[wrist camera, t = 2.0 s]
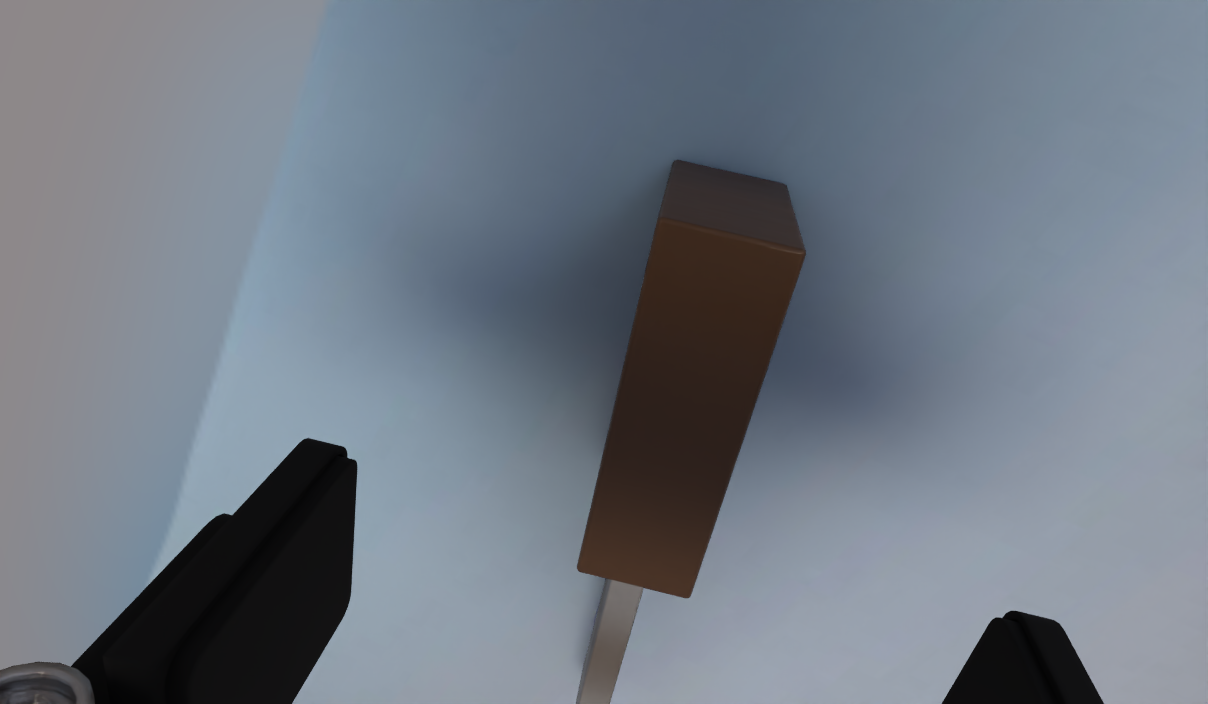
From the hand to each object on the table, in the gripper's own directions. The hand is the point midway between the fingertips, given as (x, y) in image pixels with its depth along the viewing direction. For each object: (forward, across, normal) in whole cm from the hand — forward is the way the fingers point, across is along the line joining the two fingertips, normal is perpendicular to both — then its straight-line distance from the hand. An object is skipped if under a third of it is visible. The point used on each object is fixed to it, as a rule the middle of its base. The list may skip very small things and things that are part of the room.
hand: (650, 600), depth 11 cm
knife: (+8, 0, +3) cm, 9 cm away
